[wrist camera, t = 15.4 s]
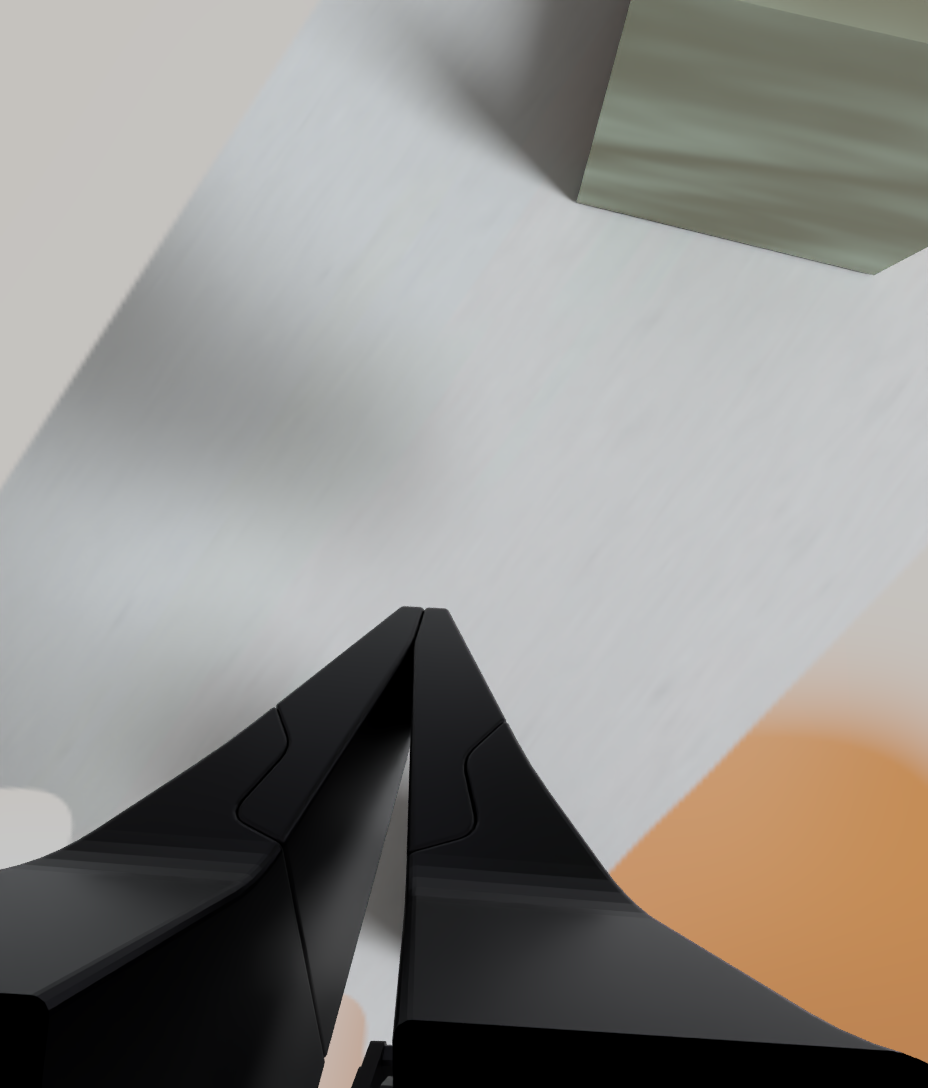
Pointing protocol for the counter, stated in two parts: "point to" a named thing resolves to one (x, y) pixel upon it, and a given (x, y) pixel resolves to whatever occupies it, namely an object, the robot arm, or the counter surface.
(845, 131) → the drawer
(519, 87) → the counter surface
